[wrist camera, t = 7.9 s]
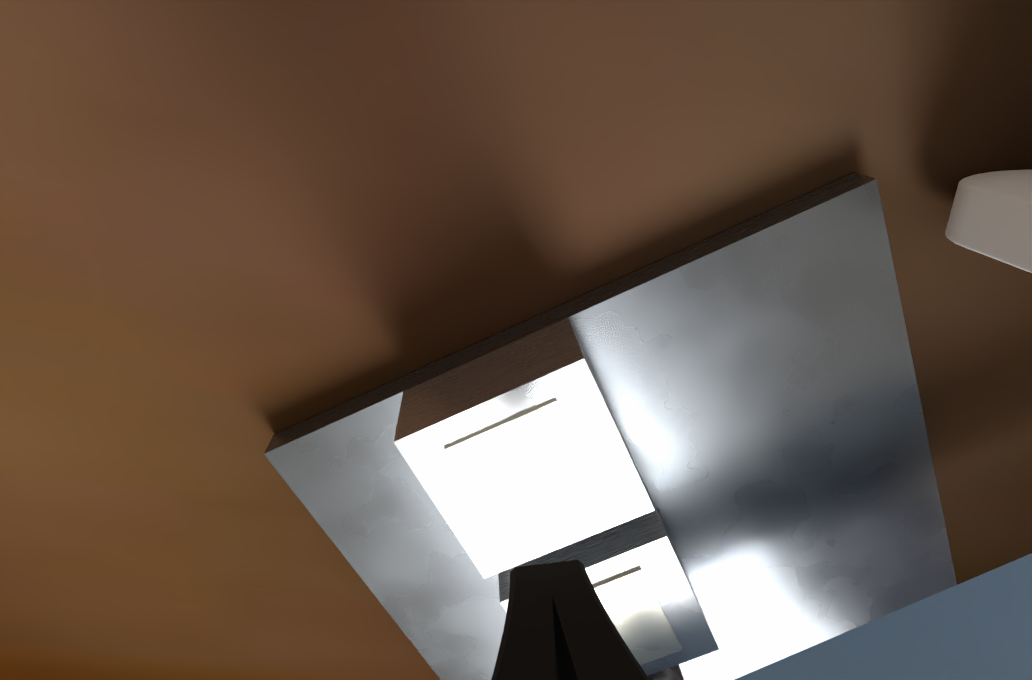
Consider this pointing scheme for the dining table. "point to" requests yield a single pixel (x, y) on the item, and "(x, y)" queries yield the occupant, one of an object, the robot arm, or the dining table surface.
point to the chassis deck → (694, 445)
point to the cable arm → (932, 637)
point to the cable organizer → (995, 216)
